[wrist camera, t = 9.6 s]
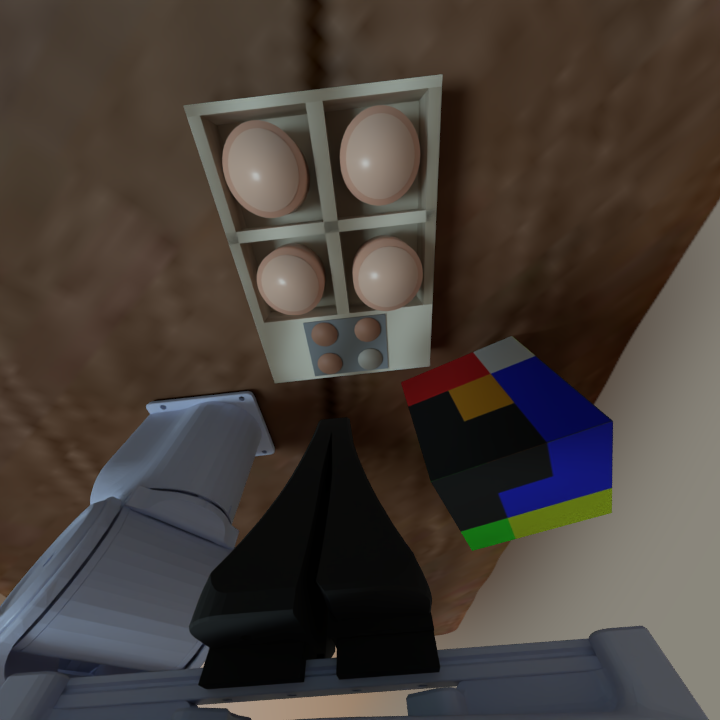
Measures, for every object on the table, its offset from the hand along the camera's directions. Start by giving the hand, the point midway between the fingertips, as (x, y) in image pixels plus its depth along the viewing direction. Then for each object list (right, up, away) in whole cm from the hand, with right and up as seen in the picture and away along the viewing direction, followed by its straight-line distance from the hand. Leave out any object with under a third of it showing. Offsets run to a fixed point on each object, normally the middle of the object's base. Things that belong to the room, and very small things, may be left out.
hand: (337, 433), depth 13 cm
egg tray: (0, +10, +6) cm, 12 cm away
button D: (+2, +15, +3) cm, 15 cm away
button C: (-4, +14, +3) cm, 15 cm away
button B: (+3, +9, +5) cm, 11 cm away
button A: (-3, +9, +6) cm, 11 cm away
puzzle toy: (+11, 0, +13) cm, 18 cm away
